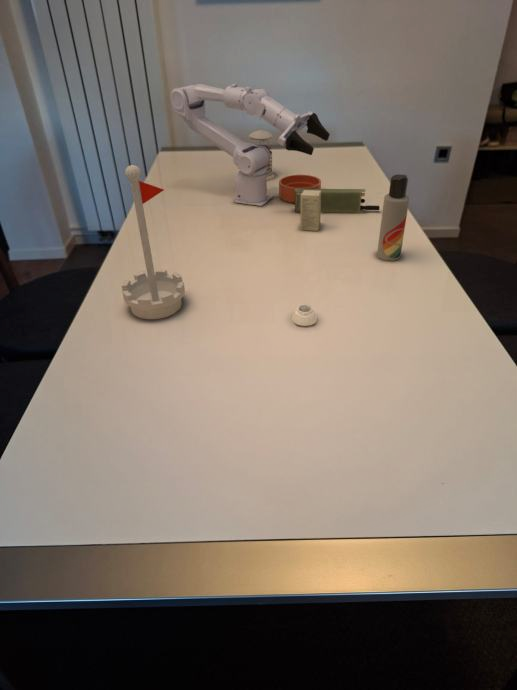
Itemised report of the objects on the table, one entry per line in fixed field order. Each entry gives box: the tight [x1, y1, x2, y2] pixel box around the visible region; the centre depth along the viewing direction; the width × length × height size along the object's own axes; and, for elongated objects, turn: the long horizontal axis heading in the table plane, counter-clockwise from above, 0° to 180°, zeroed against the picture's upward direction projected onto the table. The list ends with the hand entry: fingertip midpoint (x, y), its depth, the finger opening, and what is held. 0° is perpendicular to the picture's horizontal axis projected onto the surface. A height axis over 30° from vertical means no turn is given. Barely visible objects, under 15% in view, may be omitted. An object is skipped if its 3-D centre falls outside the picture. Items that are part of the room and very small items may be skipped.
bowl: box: [278, 174, 322, 204], centre depth 157 cm, size 13×13×5 cm
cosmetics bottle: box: [300, 190, 322, 232], centre depth 136 cm, size 5×4×10 cm
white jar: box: [291, 304, 318, 327], centre depth 101 cm, size 5×3×5 cm
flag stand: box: [121, 164, 186, 320], centre depth 99 cm, size 13×13×30 cm
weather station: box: [248, 125, 276, 181], centre depth 170 cm, size 10×12×25 cm
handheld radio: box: [294, 188, 381, 214], centre depth 146 cm, size 7×3×25 cm
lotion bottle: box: [376, 174, 410, 262], centre depth 118 cm, size 6×6×20 cm
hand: (320, 144), depth 135 cm, fingers open, 7 cm apart
